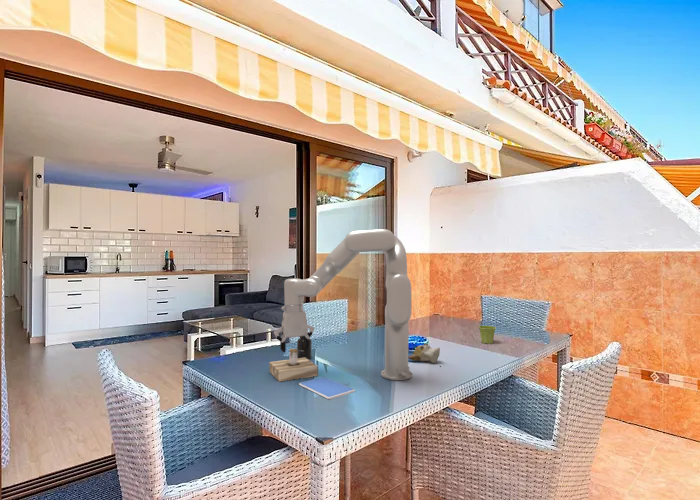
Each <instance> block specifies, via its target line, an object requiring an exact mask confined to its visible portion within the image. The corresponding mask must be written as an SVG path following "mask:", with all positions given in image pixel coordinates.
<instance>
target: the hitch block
mask: <svg viewBox="0 0 700 500" xmlns="http://www.w3.org/2000/svg"><path fill="white" fill-rule="evenodd" d="M318 367H319V366H318V365H317V364H315V363H314V362H312V361H311V359H309V360H308V359H307V358H297V366H289V359H283V360H276V361H269V373H270V374H271V376H273V377H274V378H275V379H276V380H277V381H278V382H279V383H280V382H281V381H282V382H286V380H288V381H294V380H293V379H295V380H300V379H299V378H301V379H305V378H306V379H308V378H311V377H312V378H313V376H314V377H318V375H319V374H318V373H319V372H318V371H319V370H318Z"/></svg>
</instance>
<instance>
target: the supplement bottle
mask: <svg viewBox="0 0 700 500" xmlns="http://www.w3.org/2000/svg"><path fill="white" fill-rule="evenodd" d="M304 338H305V337H304V336H299V337H298V339H297V341H296V349H297V358H307V359H308V360H311V359H312V348H313V347H312V346H313V345H312V344H313V343H312V339H311V338H310V339H309V346H308V349H305V348H304Z"/></svg>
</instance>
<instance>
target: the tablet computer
mask: <svg viewBox="0 0 700 500" xmlns="http://www.w3.org/2000/svg"><path fill="white" fill-rule="evenodd" d="M299 385H300V387H303V388H304V389H306V390H308V391H311V392H313V393H315V394H316V395H319V396H321V397H323V398H325V399H327V400H332V399H336V398H337V399H338V398H339V397H344V396H345V395H346V396H347V395H350V394H353V393H354V392H355V391H356V390H355V389H354V388H352V387H349V386H348V385H345V384H342V383H340V382H338V381H335V380H333V379H330V378H328V377H326V376H322V377H318V378H315V379H314V378H313V379H309V380H305V381H302V382H299V383H298V386H299Z"/></svg>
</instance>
